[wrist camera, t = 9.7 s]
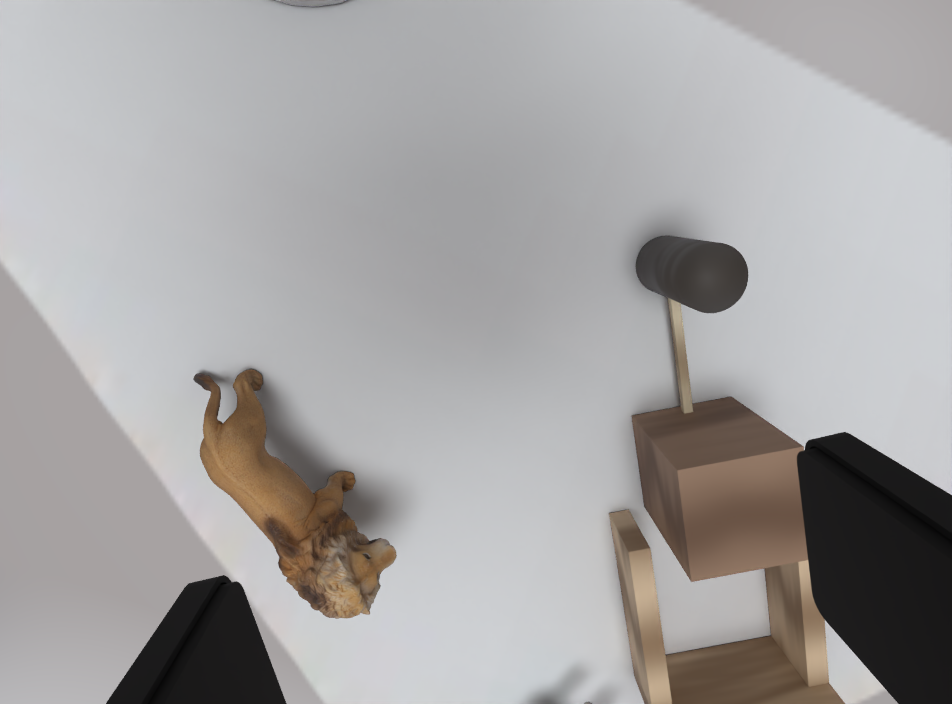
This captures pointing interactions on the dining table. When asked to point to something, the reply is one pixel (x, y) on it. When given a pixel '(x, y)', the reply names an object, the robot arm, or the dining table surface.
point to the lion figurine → (292, 508)
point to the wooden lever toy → (714, 438)
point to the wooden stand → (730, 665)
